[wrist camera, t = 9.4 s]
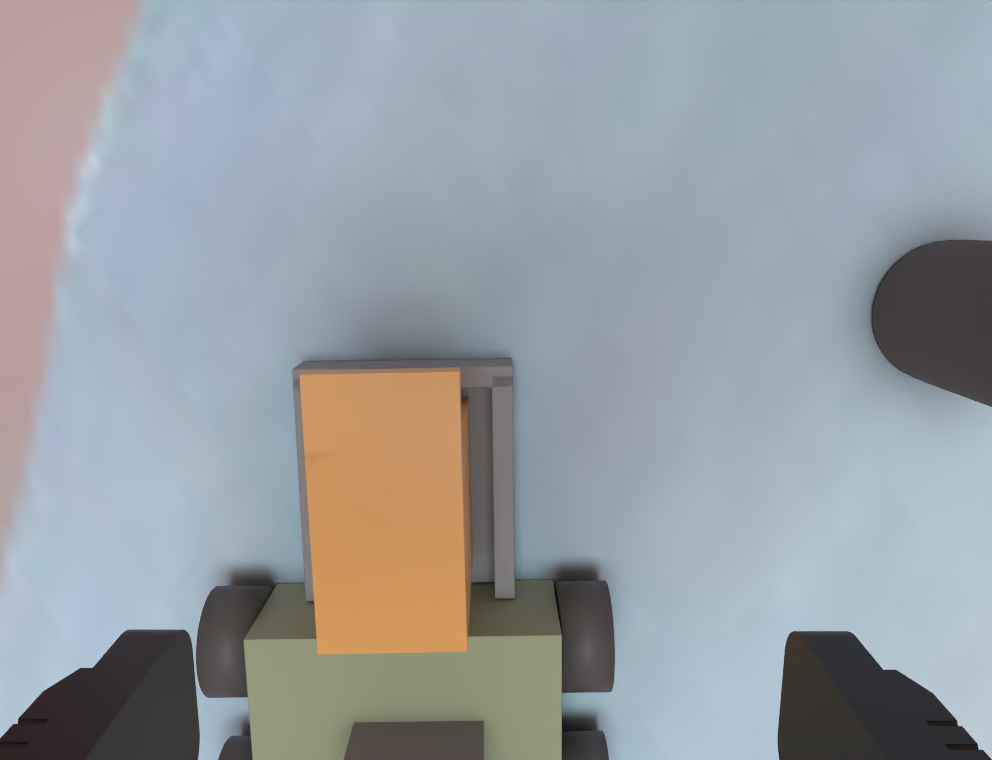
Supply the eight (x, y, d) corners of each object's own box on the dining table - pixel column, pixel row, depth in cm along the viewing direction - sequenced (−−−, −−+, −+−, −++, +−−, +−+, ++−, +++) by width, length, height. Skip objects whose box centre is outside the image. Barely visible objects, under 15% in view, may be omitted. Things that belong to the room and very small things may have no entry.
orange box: (344, 339, 34) (299, 374, 26) (467, 337, 34) (459, 371, 26) (356, 559, 36) (317, 654, 28) (472, 557, 36) (467, 651, 28)
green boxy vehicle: (212, 362, 34) (114, 410, 26) (602, 357, 34) (640, 402, 26) (246, 801, 38) (171, 976, 29) (598, 796, 38) (630, 969, 29)
